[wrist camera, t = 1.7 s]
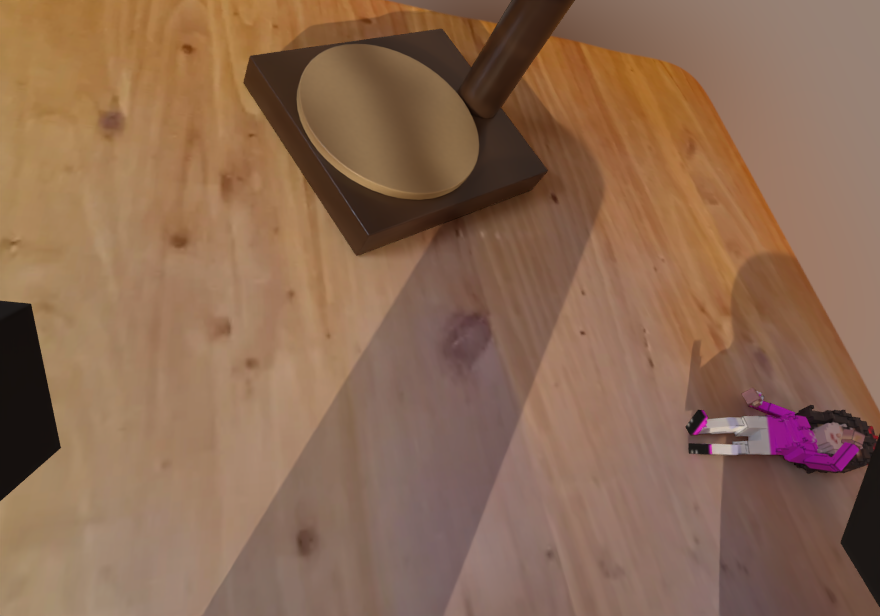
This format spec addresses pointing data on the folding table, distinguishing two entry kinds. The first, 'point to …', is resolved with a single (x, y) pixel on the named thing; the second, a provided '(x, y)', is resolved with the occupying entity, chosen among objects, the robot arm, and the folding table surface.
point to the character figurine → (791, 436)
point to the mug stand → (406, 123)
